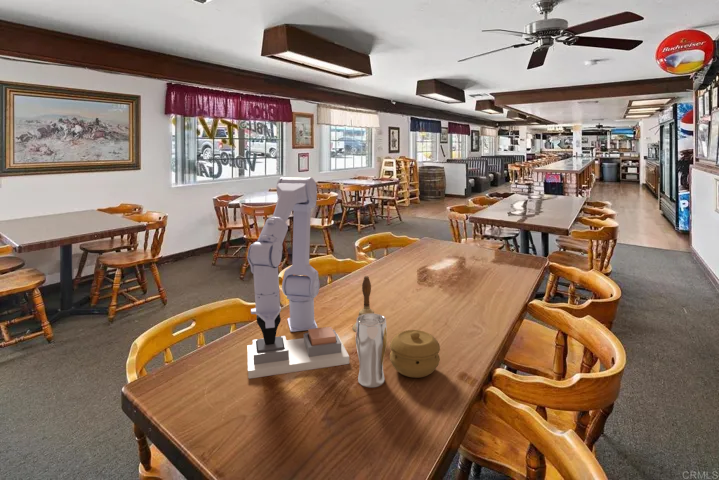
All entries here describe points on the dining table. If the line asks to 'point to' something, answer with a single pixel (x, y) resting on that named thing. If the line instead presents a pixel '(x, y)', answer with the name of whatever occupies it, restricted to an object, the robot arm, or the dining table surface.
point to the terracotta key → (321, 336)
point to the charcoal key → (272, 347)
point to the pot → (414, 353)
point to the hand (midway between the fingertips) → (269, 343)
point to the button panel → (295, 357)
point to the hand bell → (365, 298)
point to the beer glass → (371, 348)
